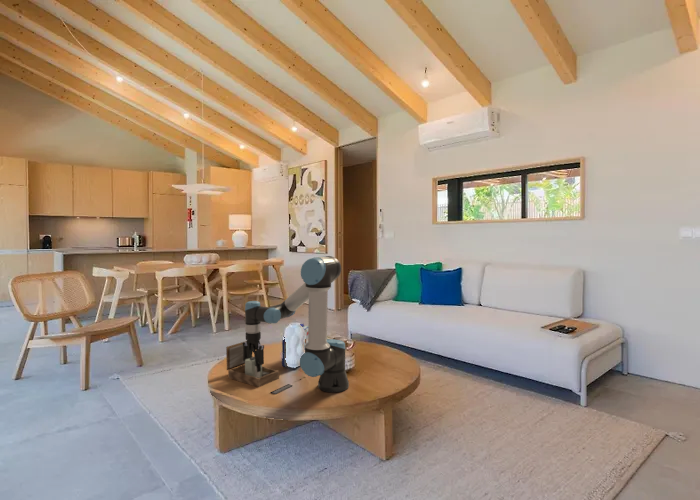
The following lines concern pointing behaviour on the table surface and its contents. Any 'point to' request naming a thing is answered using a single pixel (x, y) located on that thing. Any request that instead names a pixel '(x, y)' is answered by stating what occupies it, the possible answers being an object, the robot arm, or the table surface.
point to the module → (251, 367)
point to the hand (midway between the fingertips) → (253, 376)
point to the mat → (281, 389)
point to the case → (238, 373)
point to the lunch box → (285, 345)
